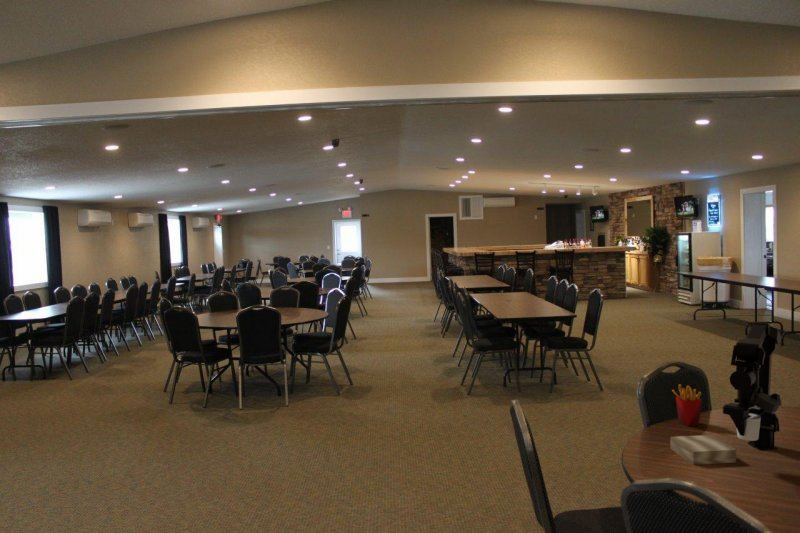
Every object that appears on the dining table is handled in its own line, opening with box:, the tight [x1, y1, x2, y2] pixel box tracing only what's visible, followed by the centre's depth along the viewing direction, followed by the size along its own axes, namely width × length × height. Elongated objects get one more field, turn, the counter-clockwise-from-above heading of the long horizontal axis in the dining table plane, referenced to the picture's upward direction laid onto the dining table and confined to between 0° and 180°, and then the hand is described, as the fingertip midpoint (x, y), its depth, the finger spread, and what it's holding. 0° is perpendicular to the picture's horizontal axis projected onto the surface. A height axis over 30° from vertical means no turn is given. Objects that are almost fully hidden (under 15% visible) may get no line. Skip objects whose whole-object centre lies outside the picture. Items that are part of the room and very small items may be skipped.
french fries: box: [671, 384, 703, 427], centre depth 228 cm, size 9×8×15 cm
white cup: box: [736, 413, 761, 442], centre depth 186 cm, size 7×7×7 cm
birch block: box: [669, 434, 737, 466], centre depth 197 cm, size 14×14×4 cm
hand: (747, 433), depth 186 cm, fingers closed on white cup, 6 cm apart
